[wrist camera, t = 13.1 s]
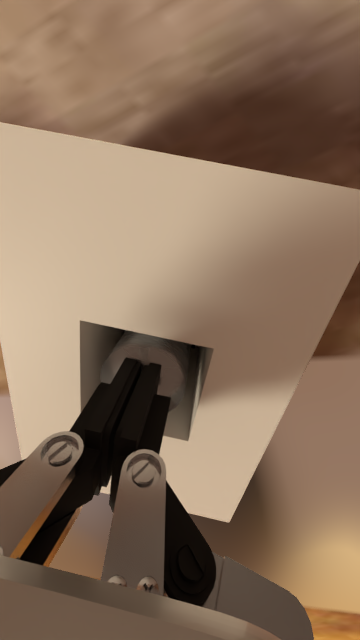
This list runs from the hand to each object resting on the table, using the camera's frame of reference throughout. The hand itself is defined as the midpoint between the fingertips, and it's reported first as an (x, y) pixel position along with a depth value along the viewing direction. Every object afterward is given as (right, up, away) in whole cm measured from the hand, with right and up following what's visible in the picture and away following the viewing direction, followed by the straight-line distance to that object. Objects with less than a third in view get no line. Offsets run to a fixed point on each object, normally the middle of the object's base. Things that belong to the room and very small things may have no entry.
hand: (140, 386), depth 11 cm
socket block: (+1, +4, +9) cm, 10 cm away
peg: (+1, +4, +7) cm, 8 cm away
